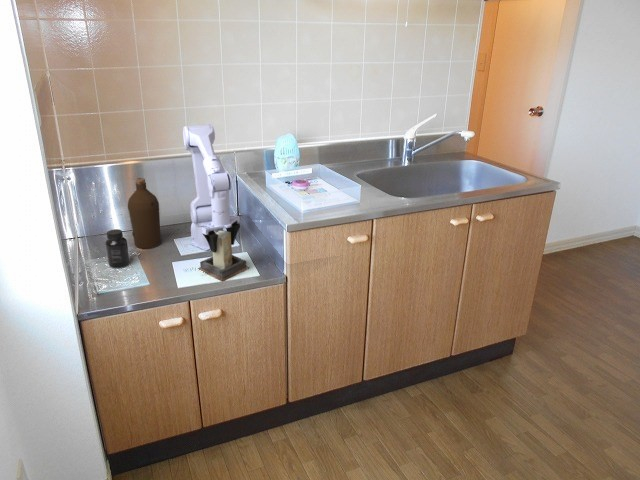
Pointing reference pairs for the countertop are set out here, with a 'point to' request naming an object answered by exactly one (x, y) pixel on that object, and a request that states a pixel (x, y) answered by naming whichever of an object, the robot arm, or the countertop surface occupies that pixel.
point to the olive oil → (144, 217)
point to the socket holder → (224, 274)
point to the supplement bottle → (117, 249)
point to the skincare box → (223, 250)
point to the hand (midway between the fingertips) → (222, 247)
